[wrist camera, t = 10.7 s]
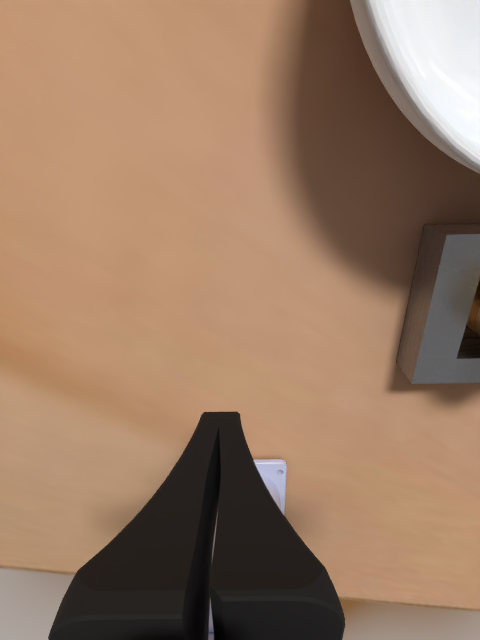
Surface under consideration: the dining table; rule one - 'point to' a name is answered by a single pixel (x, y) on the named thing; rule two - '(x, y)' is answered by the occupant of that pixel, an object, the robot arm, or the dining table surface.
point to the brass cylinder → (475, 313)
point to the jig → (442, 308)
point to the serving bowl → (429, 67)
